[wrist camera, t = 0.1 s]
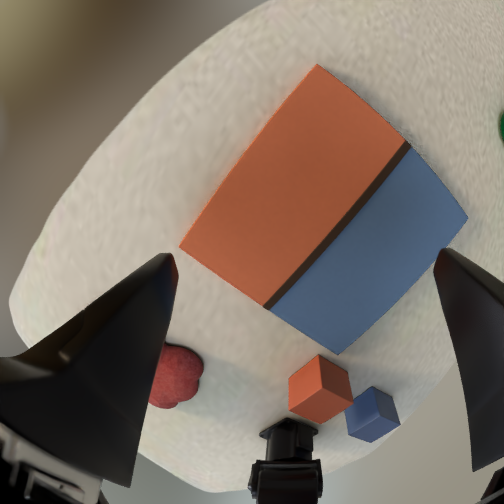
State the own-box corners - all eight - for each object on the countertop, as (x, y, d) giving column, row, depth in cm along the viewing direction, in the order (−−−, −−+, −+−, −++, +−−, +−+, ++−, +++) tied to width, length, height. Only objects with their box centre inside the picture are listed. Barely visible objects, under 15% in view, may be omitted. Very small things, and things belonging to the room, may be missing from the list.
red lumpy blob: (216, 360, 31) (213, 372, 29) (181, 412, 36) (178, 422, 34) (87, 290, 29) (78, 298, 27) (80, 357, 34) (73, 365, 32)
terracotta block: (318, 393, 32) (320, 424, 27) (288, 378, 31) (288, 410, 26) (347, 371, 30) (354, 403, 25) (318, 354, 29) (322, 387, 24)
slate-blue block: (365, 416, 33) (370, 443, 28) (343, 406, 32) (348, 435, 28) (392, 397, 31) (400, 424, 27) (372, 386, 30) (380, 415, 26)
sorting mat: (337, 352, 29) (337, 356, 28) (180, 244, 26) (177, 247, 25) (465, 216, 22) (469, 218, 21) (315, 65, 19) (317, 63, 18)
